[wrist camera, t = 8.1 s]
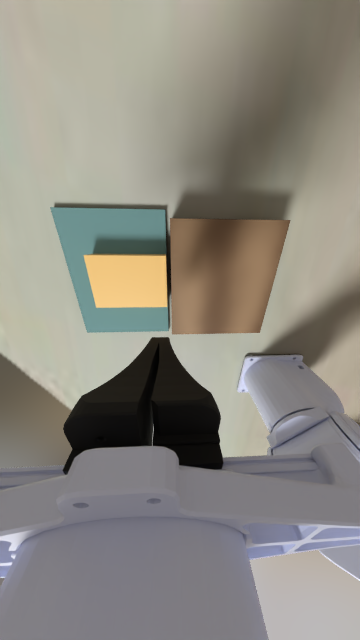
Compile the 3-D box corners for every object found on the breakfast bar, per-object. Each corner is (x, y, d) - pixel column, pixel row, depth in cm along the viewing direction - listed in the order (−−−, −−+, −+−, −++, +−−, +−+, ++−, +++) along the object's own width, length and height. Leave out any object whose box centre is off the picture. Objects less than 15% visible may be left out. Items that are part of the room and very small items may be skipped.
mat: (165, 210, 16) (165, 209, 16) (168, 329, 22) (168, 330, 22) (53, 208, 16) (50, 207, 15) (89, 330, 22) (87, 332, 21)
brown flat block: (271, 223, 17) (290, 220, 14) (249, 321, 23) (259, 332, 20) (170, 221, 17) (170, 218, 14) (171, 322, 22) (172, 334, 19)
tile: (166, 254, 18) (165, 255, 16) (167, 301, 20) (167, 307, 18) (92, 253, 17) (83, 255, 15) (103, 301, 20) (96, 307, 18)
